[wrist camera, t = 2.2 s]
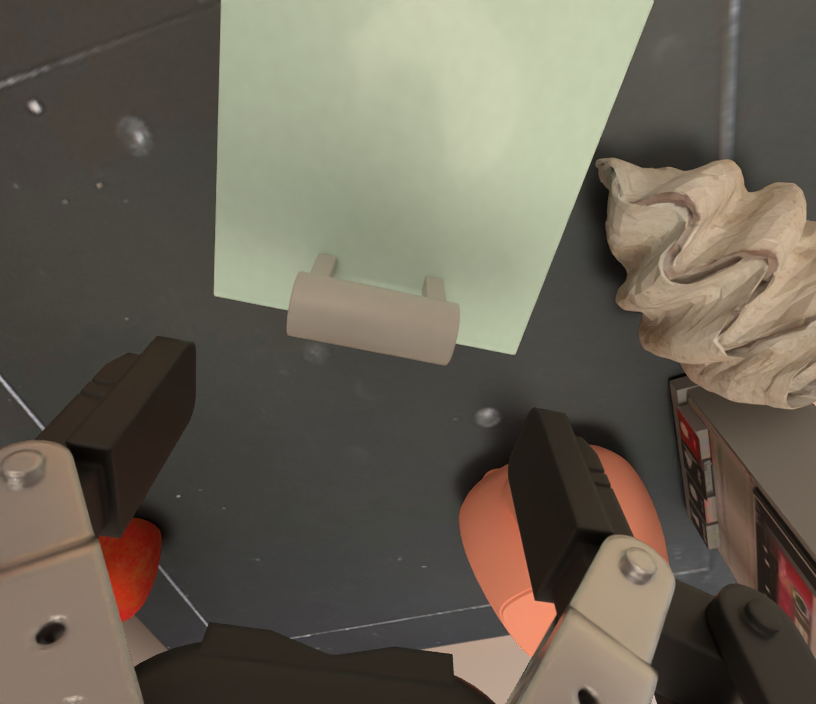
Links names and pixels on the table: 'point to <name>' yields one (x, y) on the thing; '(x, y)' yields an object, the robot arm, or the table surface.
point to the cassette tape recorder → (753, 493)
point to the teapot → (504, 555)
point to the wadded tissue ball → (718, 277)
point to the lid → (408, 160)
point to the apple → (132, 564)
